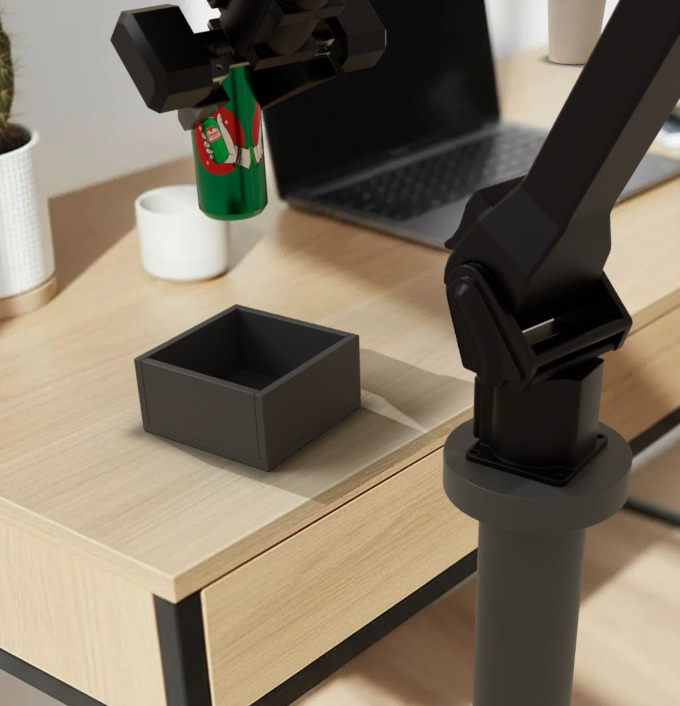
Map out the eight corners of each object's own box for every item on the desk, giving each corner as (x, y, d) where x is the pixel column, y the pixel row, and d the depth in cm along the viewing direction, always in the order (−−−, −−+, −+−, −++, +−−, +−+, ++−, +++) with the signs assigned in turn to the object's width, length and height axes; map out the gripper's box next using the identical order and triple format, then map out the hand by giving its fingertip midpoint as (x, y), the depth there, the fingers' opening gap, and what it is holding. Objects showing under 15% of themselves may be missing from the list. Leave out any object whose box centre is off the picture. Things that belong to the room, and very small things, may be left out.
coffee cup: (622, 57, 165) (633, -63, 157) (579, 70, 159) (588, -54, 151) (566, 48, 171) (574, -68, 163) (523, 60, 165) (529, -60, 157)
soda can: (240, 197, 91) (226, 29, 85) (282, 211, 88) (270, 37, 81) (186, 213, 88) (166, 41, 82) (227, 228, 85) (210, 49, 79)
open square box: (361, 405, 80) (359, 334, 77) (267, 472, 73) (262, 396, 70) (241, 371, 85) (235, 303, 82) (143, 430, 78) (133, 358, 75)
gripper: (353, -160, 78) (265, 6, 91) (102, -138, 68) (44, 44, 81) (437, -19, 77) (336, 128, 90) (194, 24, 67) (120, 182, 80)
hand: (214, 117), depth 85 cm, fingers closed on soda can, 5 cm apart
